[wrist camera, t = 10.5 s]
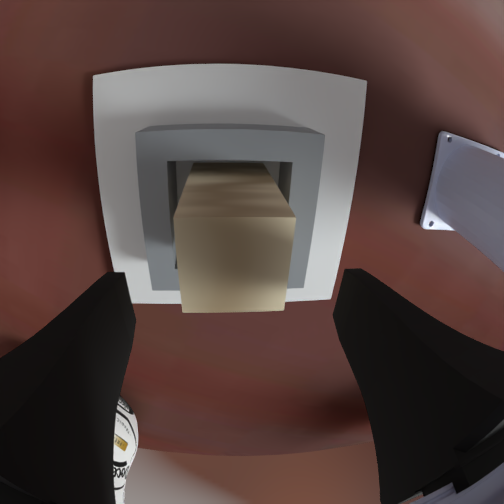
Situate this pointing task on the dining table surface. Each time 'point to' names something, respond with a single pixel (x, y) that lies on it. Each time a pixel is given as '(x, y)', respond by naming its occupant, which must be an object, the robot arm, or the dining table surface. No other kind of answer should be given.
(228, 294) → the maple peg
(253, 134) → the peg socket
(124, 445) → the milk container
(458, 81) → the dining table surface
